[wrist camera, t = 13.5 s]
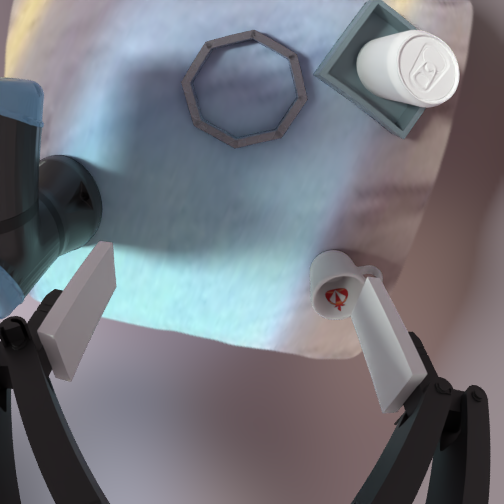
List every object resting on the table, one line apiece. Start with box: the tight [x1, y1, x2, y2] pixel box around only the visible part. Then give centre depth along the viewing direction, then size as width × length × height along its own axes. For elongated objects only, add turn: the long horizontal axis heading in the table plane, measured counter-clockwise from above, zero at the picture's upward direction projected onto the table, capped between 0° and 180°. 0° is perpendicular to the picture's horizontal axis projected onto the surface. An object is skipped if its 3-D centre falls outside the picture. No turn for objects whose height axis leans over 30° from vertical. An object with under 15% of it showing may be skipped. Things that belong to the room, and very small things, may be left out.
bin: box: [313, 0, 426, 139], centre depth 32 cm, size 13×13×4 cm
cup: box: [310, 250, 383, 320], centre depth 45 cm, size 11×8×8 cm
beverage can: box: [356, 30, 459, 107], centre depth 28 cm, size 8×8×12 cm
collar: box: [181, 30, 308, 148], centre depth 35 cm, size 14×14×2 cm
